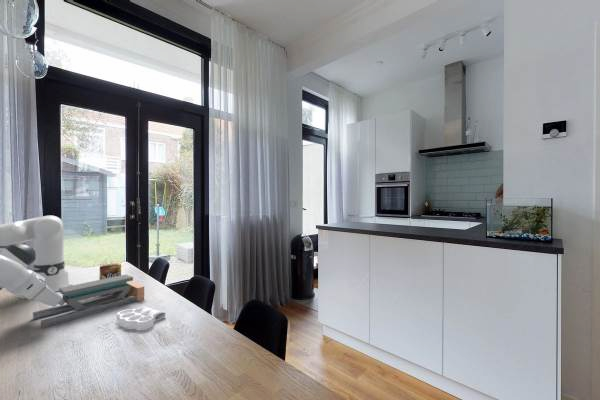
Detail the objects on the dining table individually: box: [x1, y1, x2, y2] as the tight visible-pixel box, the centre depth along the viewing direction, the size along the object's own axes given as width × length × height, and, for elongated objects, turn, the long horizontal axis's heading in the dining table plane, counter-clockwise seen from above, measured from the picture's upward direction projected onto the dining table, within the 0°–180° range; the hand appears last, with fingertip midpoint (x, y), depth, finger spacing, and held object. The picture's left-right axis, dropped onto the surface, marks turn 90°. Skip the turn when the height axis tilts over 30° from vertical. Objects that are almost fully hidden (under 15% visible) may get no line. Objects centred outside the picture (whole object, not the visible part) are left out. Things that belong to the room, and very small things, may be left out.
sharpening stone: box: [58, 274, 134, 311], centre depth 119 cm, size 25×8×11 cm, turn 144°
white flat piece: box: [114, 305, 166, 331], centre depth 105 cm, size 3×18×15 cm
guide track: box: [32, 293, 139, 329], centre depth 117 cm, size 14×33×2 cm, turn 144°
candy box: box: [98, 262, 122, 280], centre depth 134 cm, size 9×4×15 cm, turn 123°
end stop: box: [125, 281, 145, 302], centre depth 131 cm, size 14×3×6 cm, turn 54°
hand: (63, 303), depth 109 cm, fingers closed, pressing on sharpening stone
